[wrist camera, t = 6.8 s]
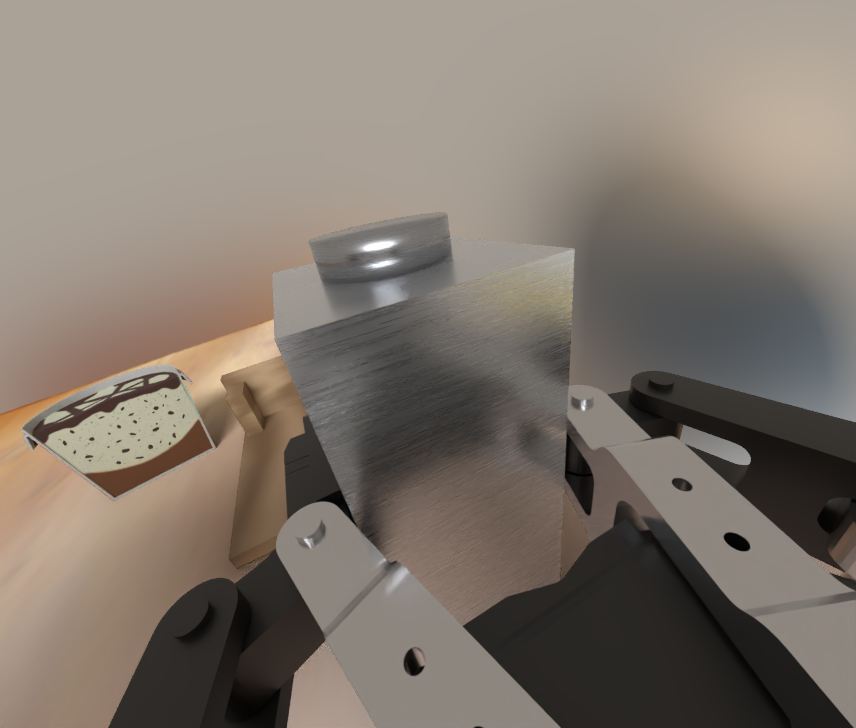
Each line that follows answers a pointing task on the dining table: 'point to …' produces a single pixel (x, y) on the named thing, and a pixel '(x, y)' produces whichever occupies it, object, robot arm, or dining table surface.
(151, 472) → the food container
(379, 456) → the block
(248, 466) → the dock
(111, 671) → the dining table surface
